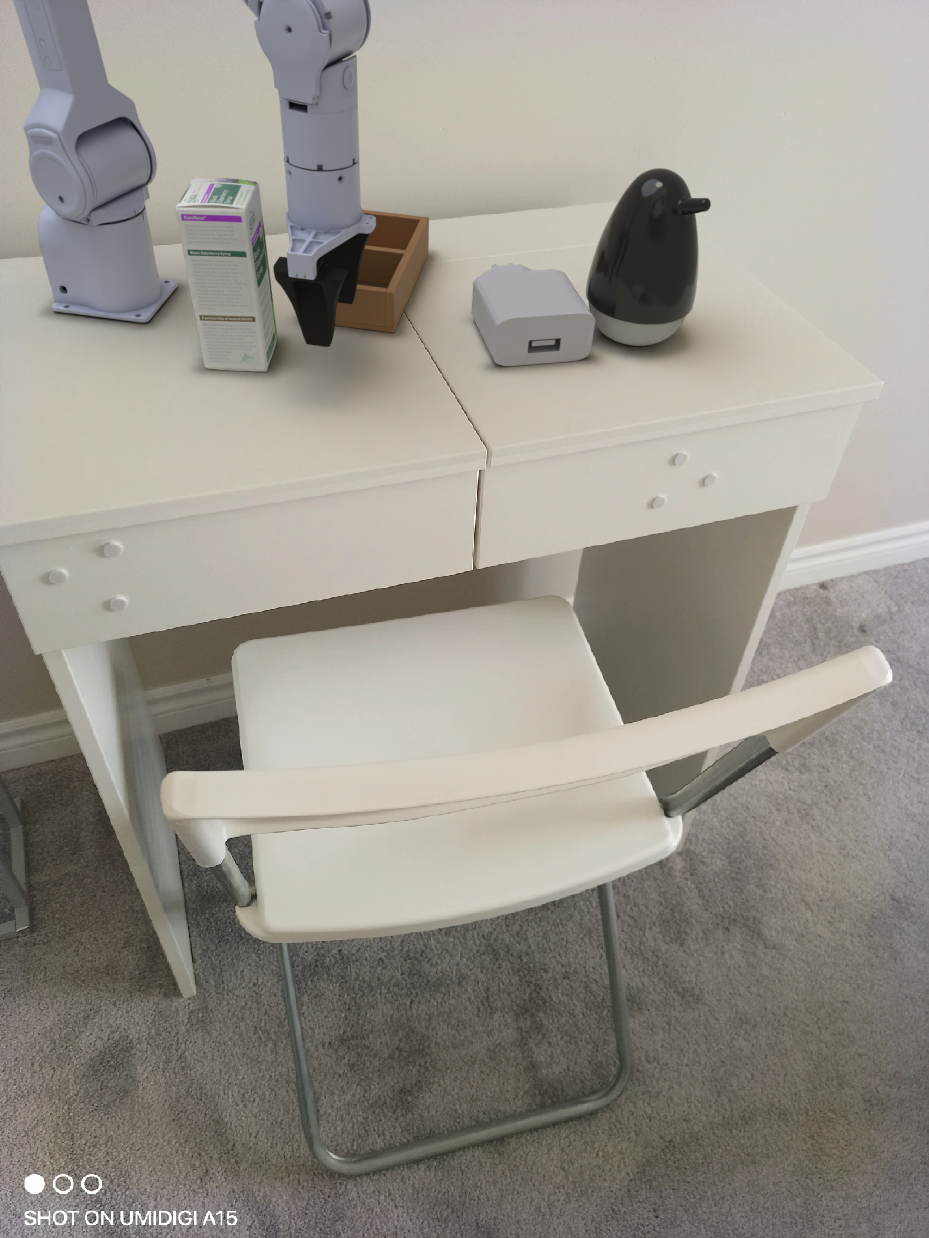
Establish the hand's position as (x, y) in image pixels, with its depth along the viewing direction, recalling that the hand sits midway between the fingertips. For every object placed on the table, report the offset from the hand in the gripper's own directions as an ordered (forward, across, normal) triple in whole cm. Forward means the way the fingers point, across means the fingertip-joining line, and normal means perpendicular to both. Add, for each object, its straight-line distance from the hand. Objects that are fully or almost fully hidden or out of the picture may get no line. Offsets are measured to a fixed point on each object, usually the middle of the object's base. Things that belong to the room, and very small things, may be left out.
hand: (330, 322), depth 82 cm
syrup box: (+5, 0, +9) cm, 10 cm away
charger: (+4, +12, -16) cm, 20 cm away
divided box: (+4, +16, 0) cm, 17 cm away
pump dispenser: (+4, +13, -26) cm, 30 cm away
